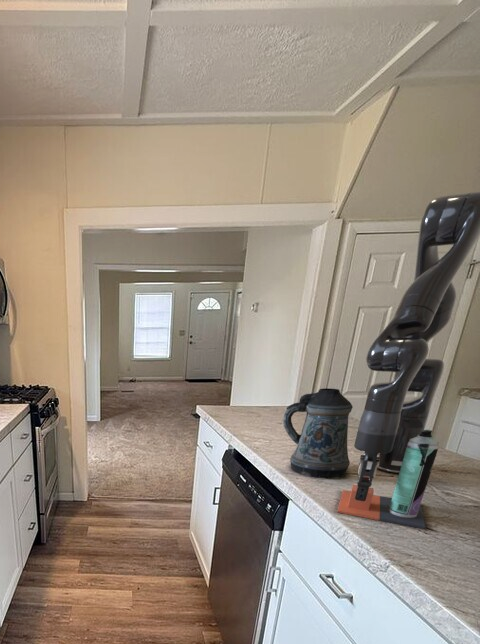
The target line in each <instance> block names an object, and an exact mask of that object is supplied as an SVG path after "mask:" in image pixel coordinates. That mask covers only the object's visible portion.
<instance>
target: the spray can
mask: <svg viewBox="0 0 480 644" xmlns="http://www.w3.org/2000/svg"><path fill="white" fill-rule="evenodd" d="M432 433H433V430H431V429H424V430H423V431H422V433H421V434H420V435H418V437H415V438H412V439H410V440H409V441H410V442H408V445H407V448H406V452H405V455H404V459H403V462H402V466H401V469H400V473H398V476H397V480H396V484H395V487H394V491H393V494H392V497H391V498H392V500H391V504H390V507H389V512H390V513H392V514H394V515H396V516H400V517H405V518H414V517H416V516H417V514H418V511H419V507H420V504H421V505H422V501H423V498H424V494H425V491H426V488H427V486H428V482H429V480H430V475H431V472H432V470H433V466H434V463H435V460H436V457H437V454H438V451H439V448H440V442H439V441H438V440H436V439H435V437H434V435H433V434H432Z"/></svg>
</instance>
